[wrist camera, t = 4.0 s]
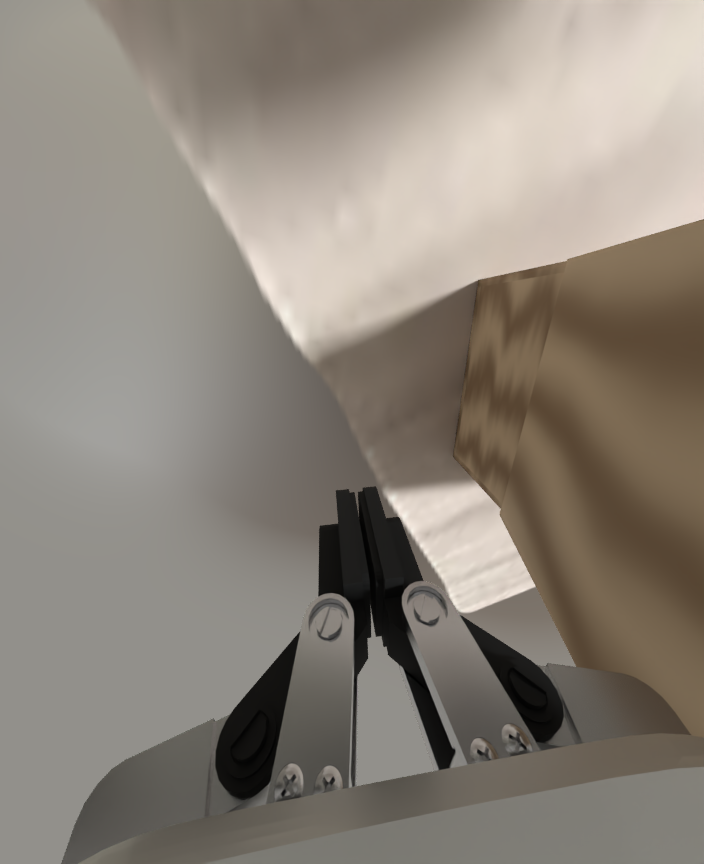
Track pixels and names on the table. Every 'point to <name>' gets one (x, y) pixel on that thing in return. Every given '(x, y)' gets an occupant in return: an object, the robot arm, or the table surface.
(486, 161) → the table surface
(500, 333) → the wooden box
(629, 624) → the box lid
